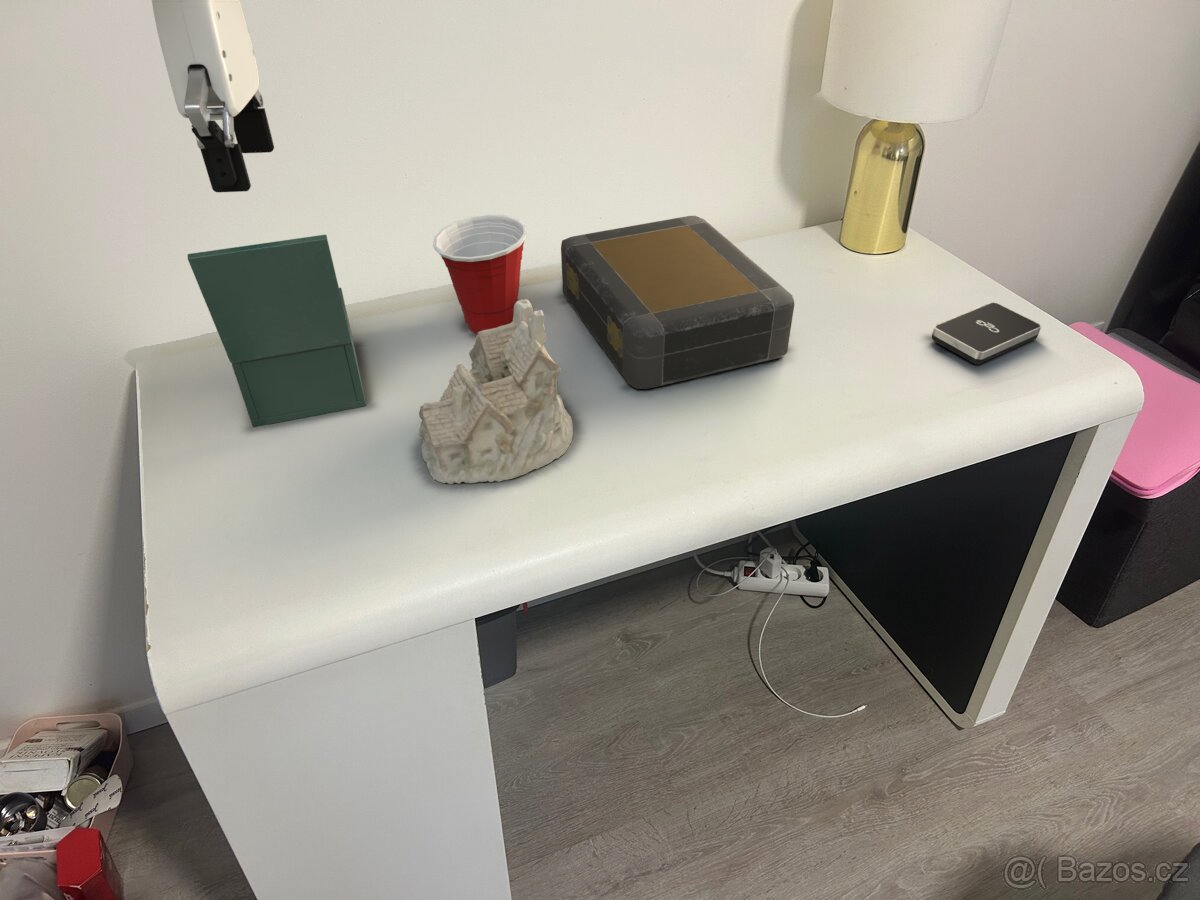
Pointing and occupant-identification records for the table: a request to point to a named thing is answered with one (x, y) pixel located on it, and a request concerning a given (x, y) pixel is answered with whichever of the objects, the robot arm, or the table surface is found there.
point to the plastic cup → (484, 267)
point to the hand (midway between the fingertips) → (245, 170)
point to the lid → (272, 297)
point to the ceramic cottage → (498, 408)
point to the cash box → (674, 300)
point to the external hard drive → (985, 332)
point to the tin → (301, 383)
